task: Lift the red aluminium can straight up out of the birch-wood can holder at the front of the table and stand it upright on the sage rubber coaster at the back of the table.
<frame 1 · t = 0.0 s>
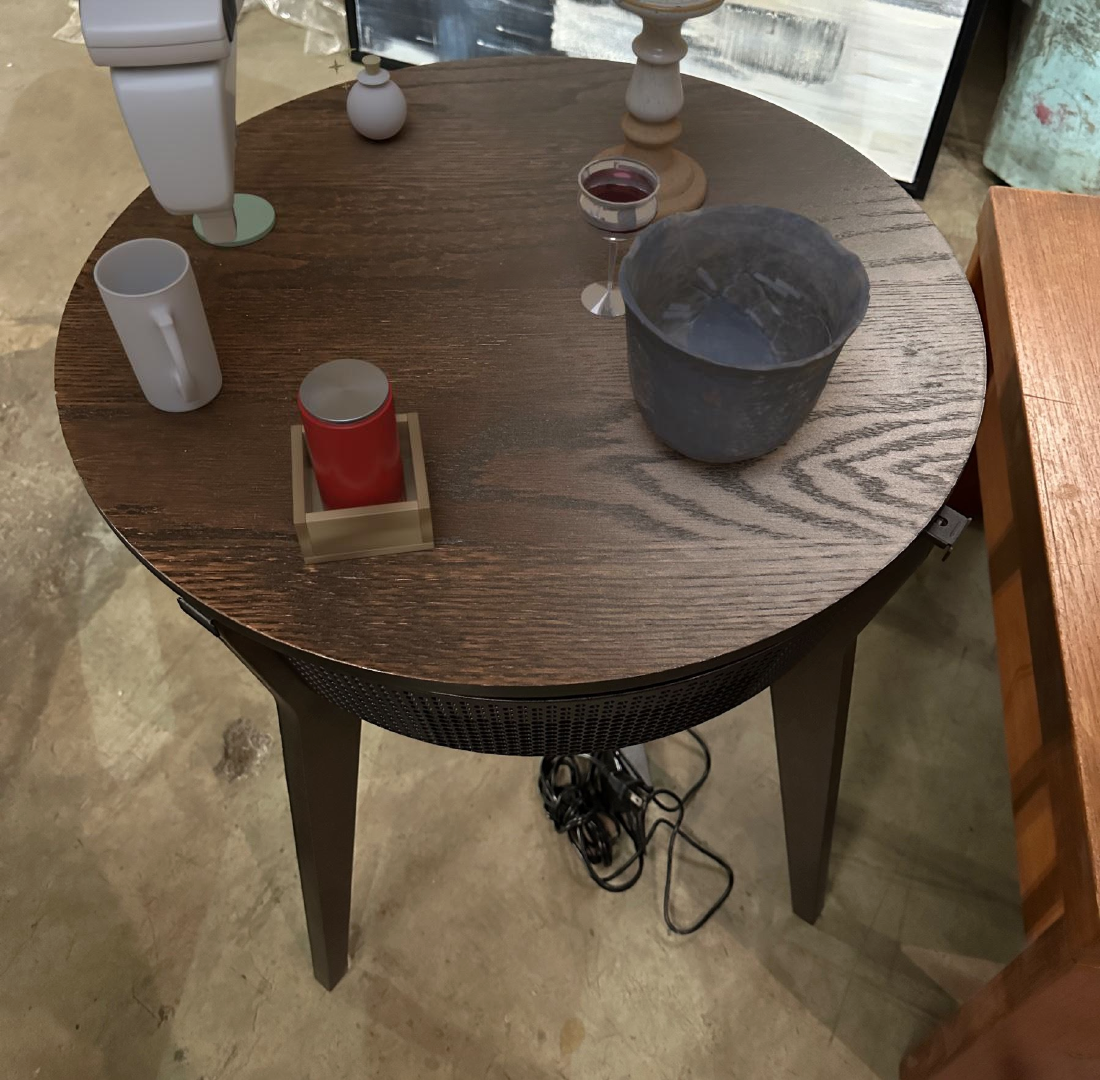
hand: (224, 188, 63), 23 cm above the table, tool pointing down, fingers open, 8 cm apart
dark grey metal pot: (712, 430, 83), on the table
can: (364, 500, 76), point 1 cm above the table, touching holder
holder: (366, 507, 77), on the table
ornament: (373, 137, 107), on the table
wineglass: (608, 300, 92), on the table
candle holder: (644, 190, 103), on the table
coaster: (235, 222, 98), on the table
mug: (190, 400, 84), on the table
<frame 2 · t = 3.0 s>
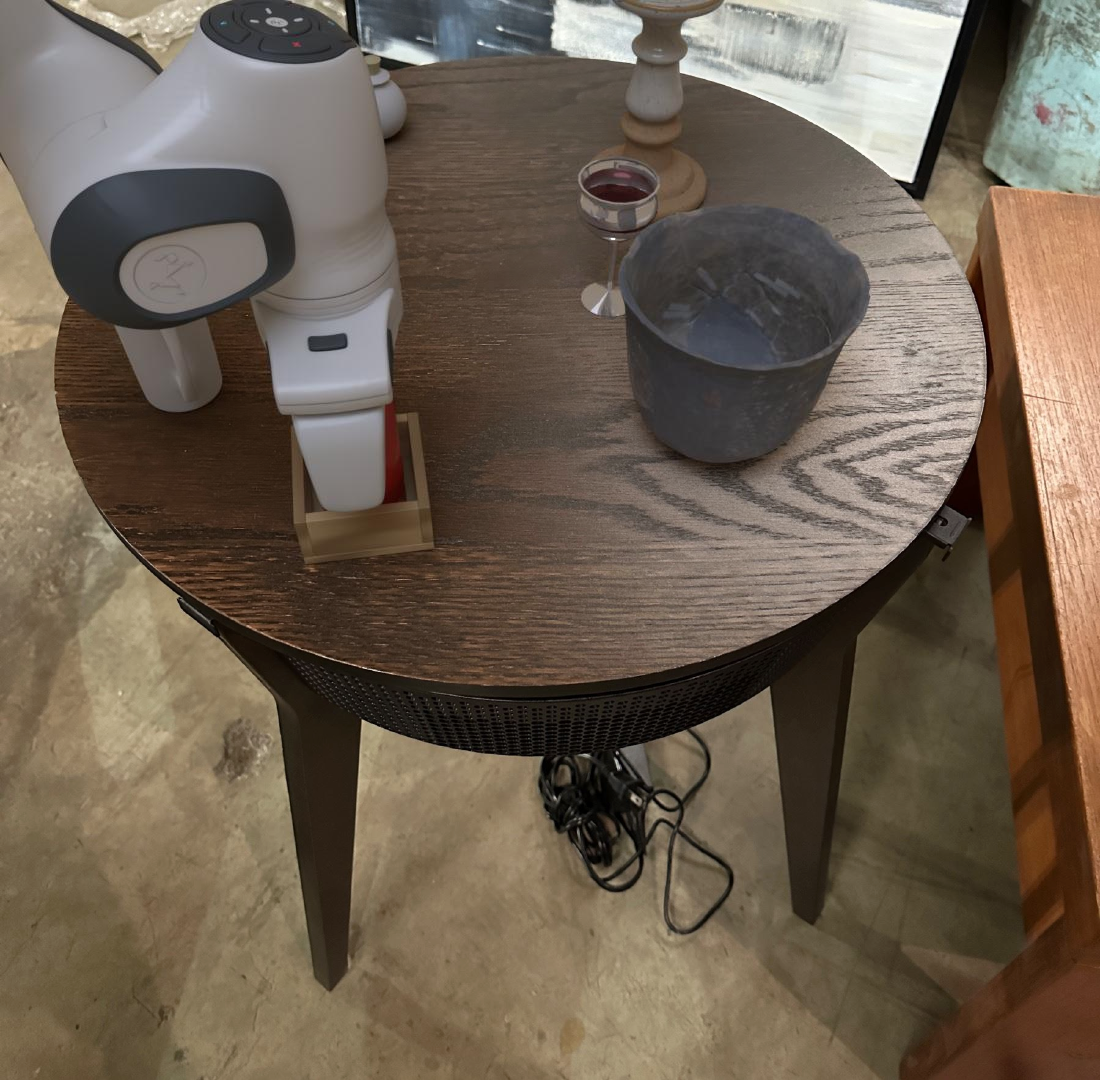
hand: (355, 449, 72), 6 cm above the table, tool pointing down, fingers closed on can, 6 cm apart
can: (364, 500, 76), point 1 cm above the table, touching gripper, holder
everything else where it was.
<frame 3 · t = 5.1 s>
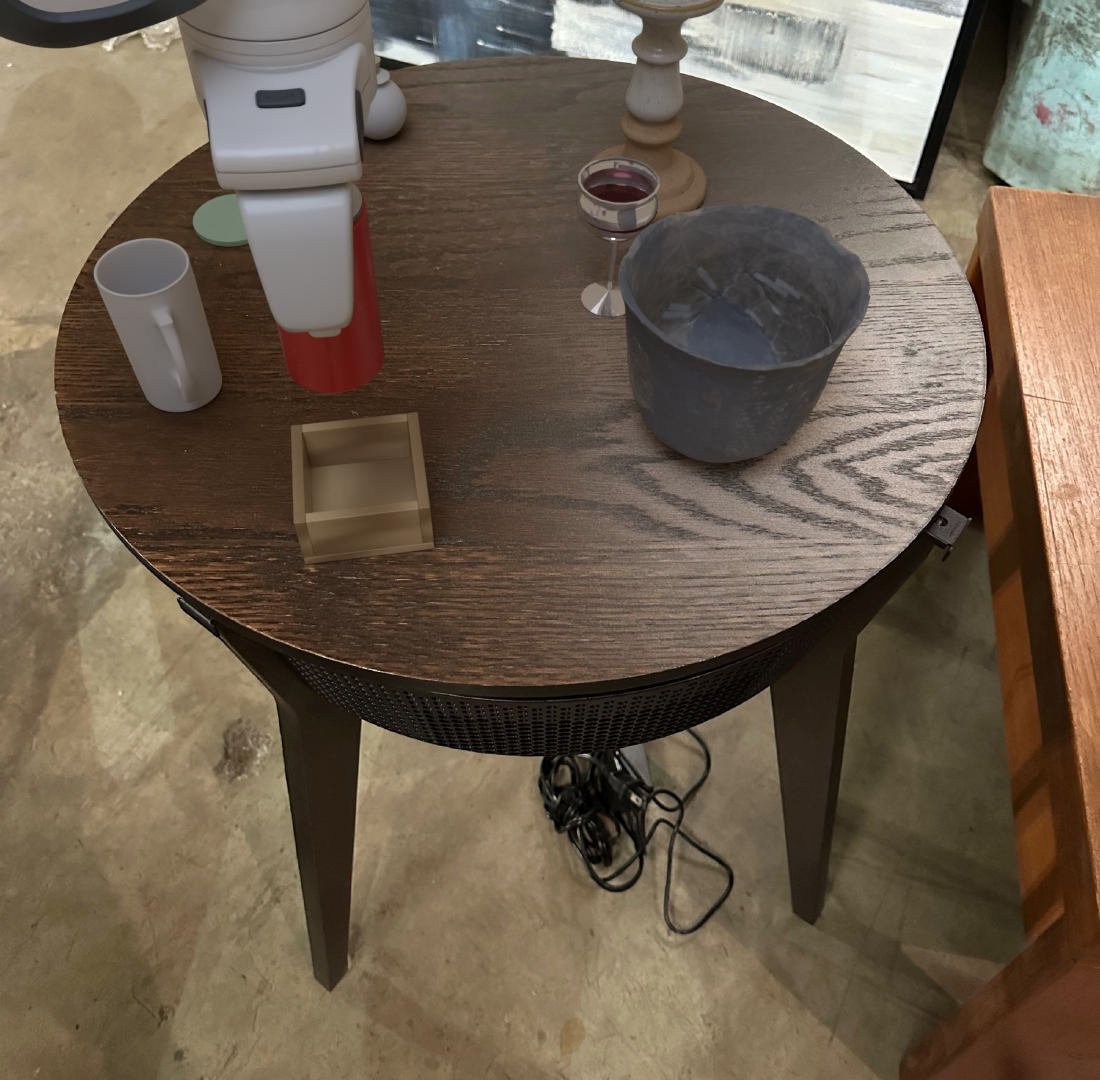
hand: (322, 287, 61), 21 cm above the table, tool pointing down, fingers closed on can, 6 cm apart
can: (335, 358, 65), point 15 cm above the table, touching gripper
everything else where it was.
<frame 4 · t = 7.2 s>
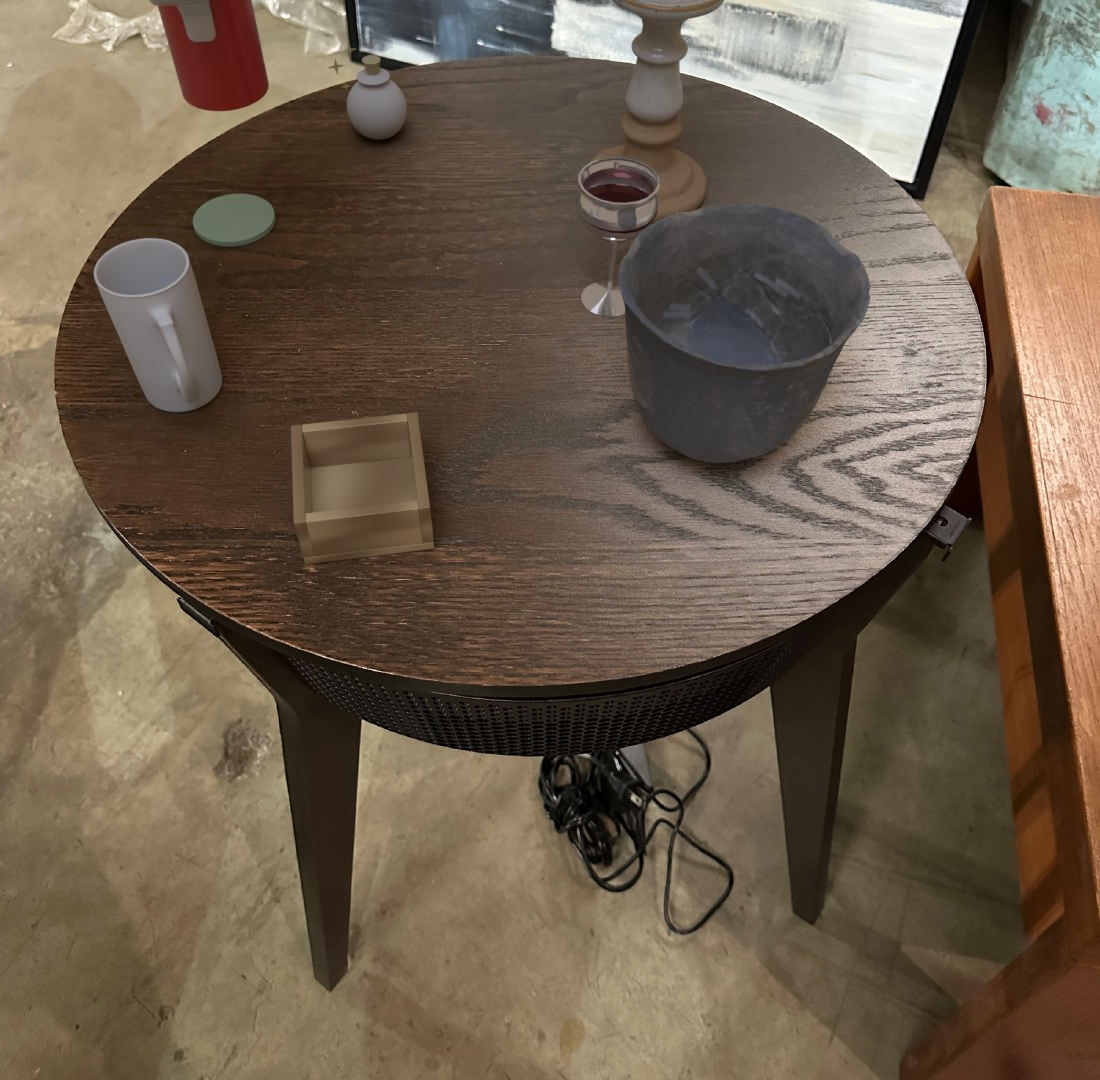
hand: (205, 9, 71), 26 cm above the table, tool pointing down, fingers closed on can, 6 cm apart
can: (225, 88, 75), point 20 cm above the table, touching gripper
everything else where it was.
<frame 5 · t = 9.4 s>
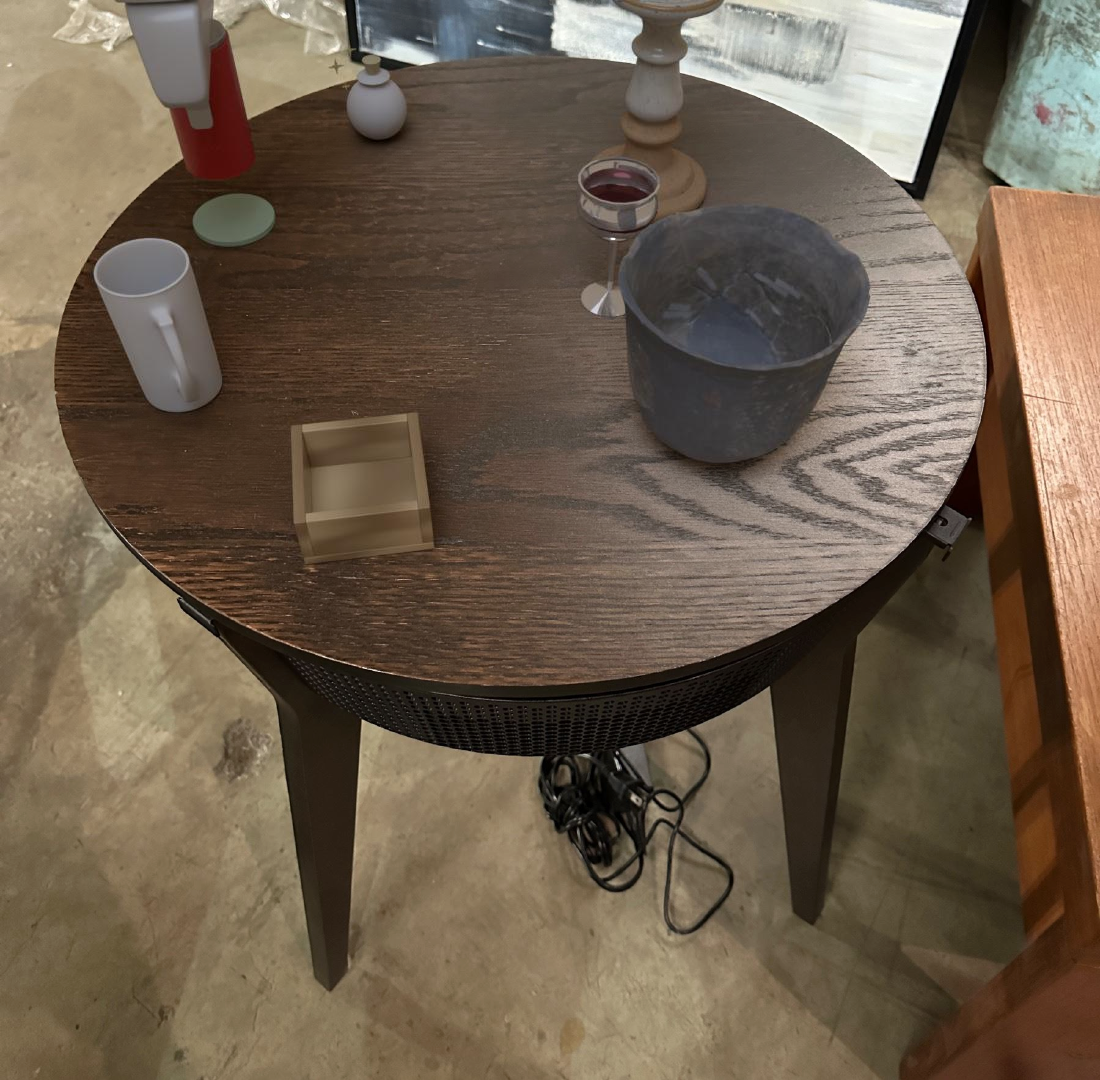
hand: (204, 100, 88), 12 cm above the table, tool pointing down, fingers closed on can, 6 cm apart
can: (220, 160, 93), point 7 cm above the table, touching gripper
everything else where it was.
when the fingers open (6 cm above the table, at t = 11.4 s): can stays where it is, resting on coaster.
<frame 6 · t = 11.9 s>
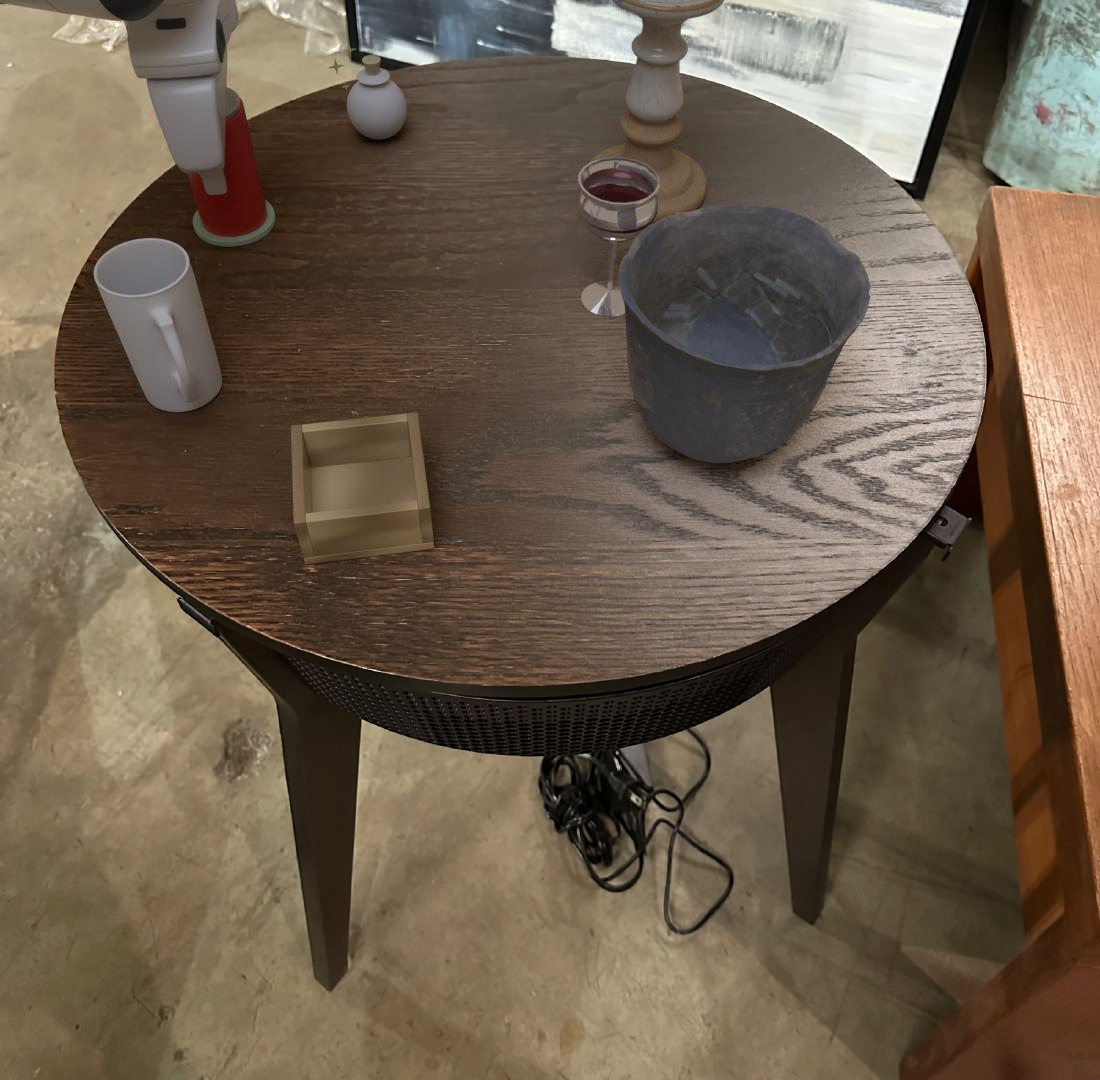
hand: (218, 159, 93), 7 cm above the table, tool pointing down, fingers open, 8 cm apart
can: (234, 216, 97), point 1 cm above the table, touching coaster
everything else where it was.
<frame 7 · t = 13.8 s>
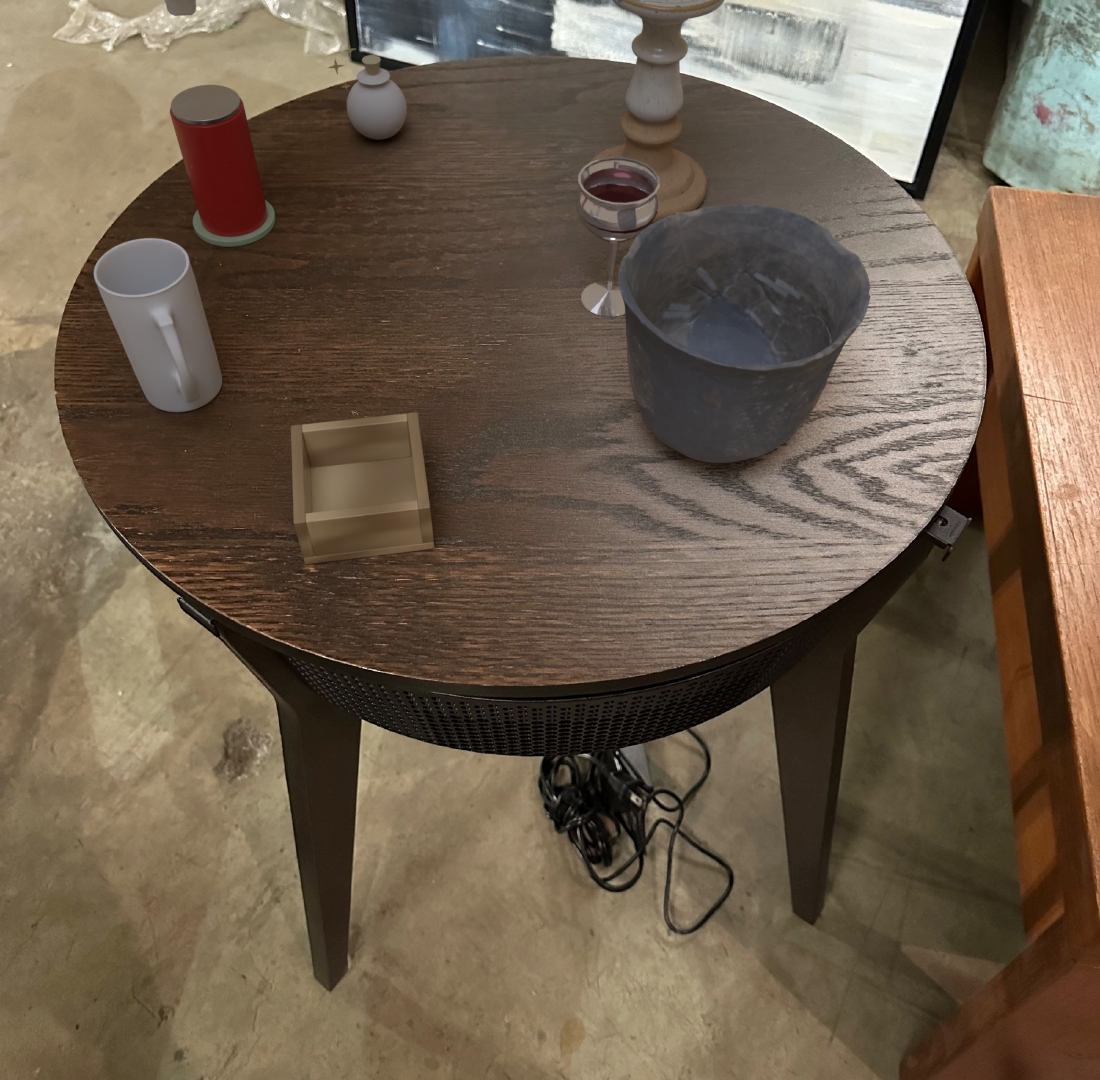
nothing on the table moved.
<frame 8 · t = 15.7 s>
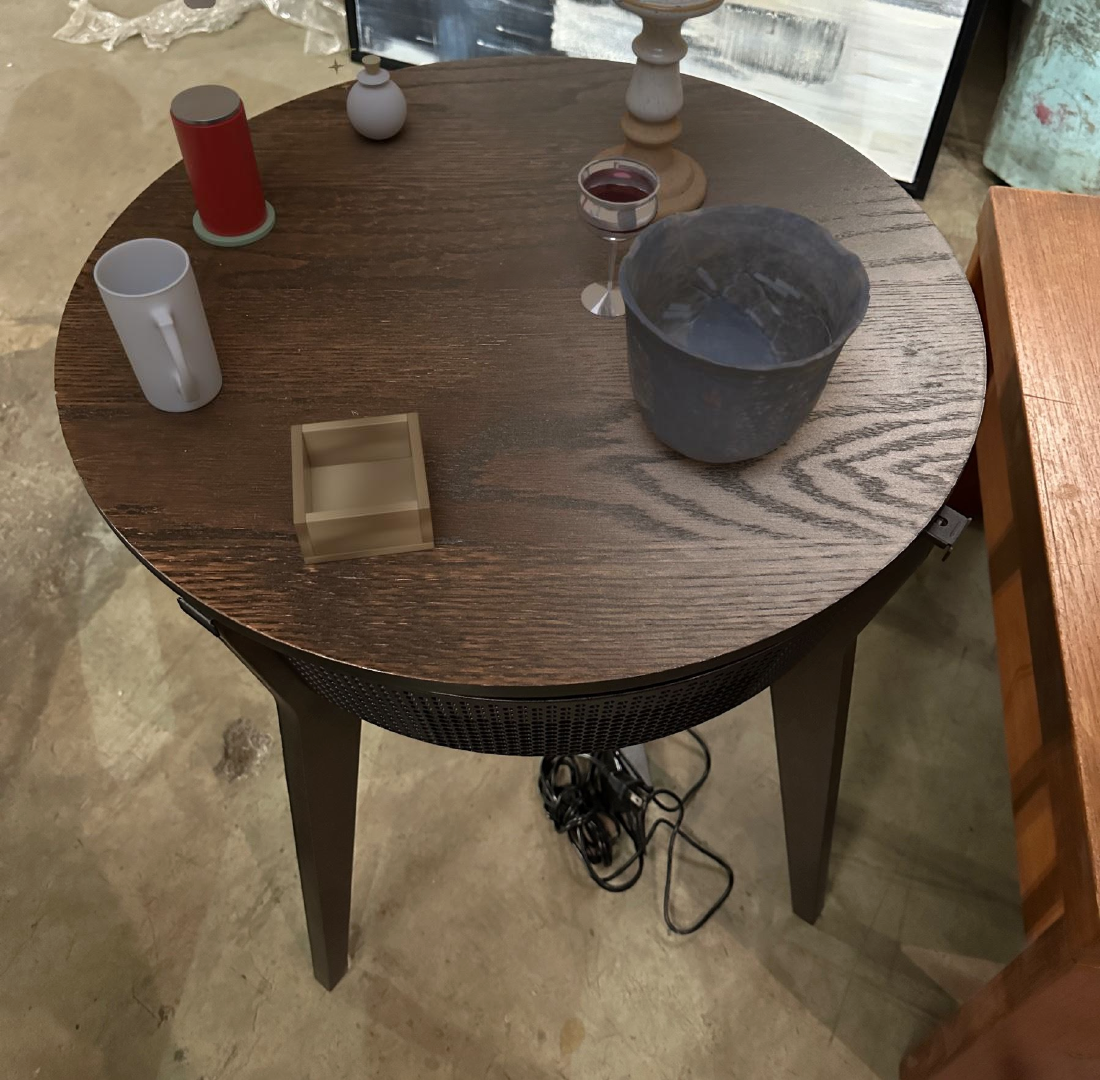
nothing on the table moved.
at the end: can 0.1 cm off-centre on the coaster, point 0.6 cm above the coaster's base; can tilted 0°; the gripper is holding nothing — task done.
